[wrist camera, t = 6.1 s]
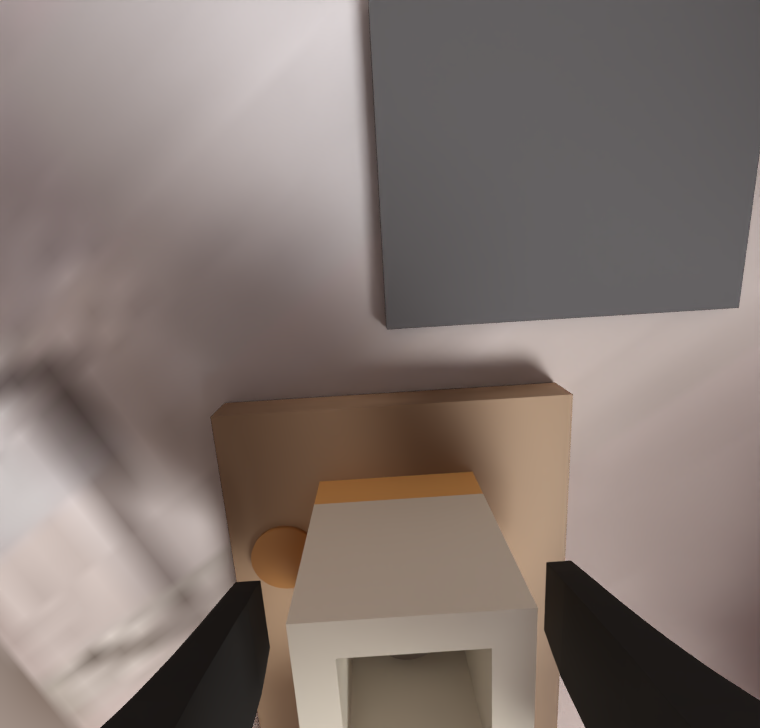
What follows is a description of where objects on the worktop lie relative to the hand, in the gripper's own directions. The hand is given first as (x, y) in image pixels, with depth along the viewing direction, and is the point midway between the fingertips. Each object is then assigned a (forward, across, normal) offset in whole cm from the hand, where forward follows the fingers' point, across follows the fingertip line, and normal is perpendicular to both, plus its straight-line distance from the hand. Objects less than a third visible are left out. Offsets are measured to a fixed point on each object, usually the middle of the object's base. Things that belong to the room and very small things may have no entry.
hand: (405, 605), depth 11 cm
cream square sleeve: (+2, 0, 0) cm, 2 cm away
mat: (+3, -5, -10) cm, 12 cm away
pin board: (+3, 0, +4) cm, 6 cm away
